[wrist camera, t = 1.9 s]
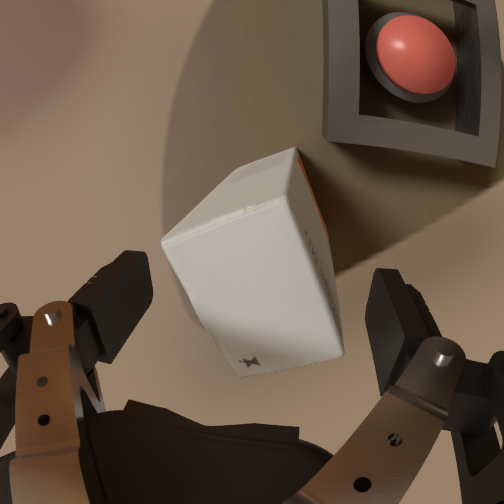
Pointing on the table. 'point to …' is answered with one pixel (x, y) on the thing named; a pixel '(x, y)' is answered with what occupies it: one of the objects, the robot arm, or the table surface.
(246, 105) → the table surface
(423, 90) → the button
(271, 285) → the skincare box
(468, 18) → the grey square frame
